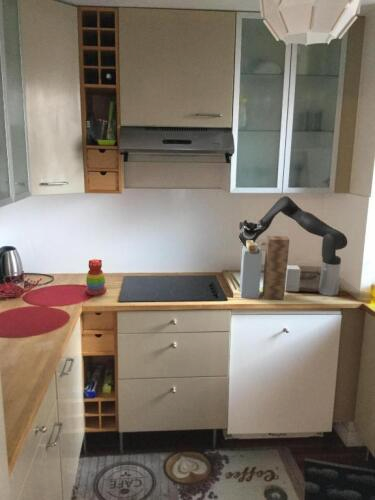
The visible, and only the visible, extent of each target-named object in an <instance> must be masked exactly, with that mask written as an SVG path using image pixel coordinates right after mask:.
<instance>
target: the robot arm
mask: <svg viewBox="0 0 375 500" xmlns="http://www.w3.org/2000/svg"><path fill="white" fill-rule="evenodd" d="M279 213H281V214H283V215H285V216H286V217H288V218H290V219H292V220H294V221H295V222H296V224H297V225H299V226H300V227H301V228H302V229H303V230H305V231H306V232H308V233H310V234H312V235H315V236H318V237H322V241H321V242H322V243H321V257H322V259H321V260H322V261H321V269H320V275H319V276H320V277H319V287H318V293H319V294H320V295H324V296H329V297H331V296H332V297H333V296H337V295H339V289H340V288H339V287H340V280H341V278H340V272H341V271H340V269H341V265H342V264H341V262H342V261H341V260H342V258H341V257H340V256H338V255H336V253H337V251H338V250H342V249H344V248H346V247H347V246H348V238H347V236H346V234H344V233H343V232H342V231H339V230H338V229H335V228H333V227H332V226H330V225H329V224H327V223H326V222H324V221H323V220H321V219H320V218H318V217H317V216H315V215H314V214H312V213H311V212H308V211H304V210H303V209H302V208H300V206H298V204H297V203H295V201H293V199H291V197H289V196H287V195H284V196H282V197H280V198H279V199H278V200H277V201H276V202H275V203H274V204H273V205H272V207H270V209H268V211H267V212H266V214H265V215H264V216H263V217H262V218H261V219H259V220H258V221H257V222H251V221H250V222H248V220H247V219H244V220H243V222H242V221H241V222H239V224H238V225H239V230H243V231H241V232H242V233H241V232H240V233H239V234H240V235H239V234H238V235H239V238H240V240H241V241H240V240H239V241H240V242H241V244H242V243H243V244H242V246H245V247H246V241H247V240H253V242H254V243H256V241H257V239H258V238H259V237H260V236H261V235H262V234H263V233H265V232H266V231H267V230H268V229H269V228H270V226H271V225H272V223H273V221H274V219H275V217H276V216H277V215H278V214H279ZM239 238H238V239H239ZM246 249H247V247H246Z"/></svg>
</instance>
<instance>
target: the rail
mask: <svg viewBox="0 0 375 500" xmlns="http://www.w3.org/2000/svg"><path fill="white" fill-rule="evenodd" d="M246 247H247V248H246V249H247V252H248V254H257V247H258V243H257V242H253V240H247V241H246Z"/></svg>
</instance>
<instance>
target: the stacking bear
mask: <svg viewBox="0 0 375 500" xmlns="http://www.w3.org/2000/svg"><path fill="white" fill-rule="evenodd" d="M102 261H103V260H101V259H98V258H95V259H89V261H88V269H89V270H88V271H87V274H86V278H85V279H86V281H85V282H86V287H85V289H84V290H85V292H86V294H87V295H89V296H99V295H103V294H105V293H106V292H107V287H106V286H105V284H106V278H105V274H104V271H103V270H102V267H103V265H102V263H103V262H102Z"/></svg>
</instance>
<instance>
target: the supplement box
mask: <svg viewBox="0 0 375 500" xmlns="http://www.w3.org/2000/svg"><path fill="white" fill-rule="evenodd" d="M301 272H302V270H301V267H300V266H299V265H297V264H296V265H293V264H287V272H286V282H285V292H299V291H300V282H301V281H300V280H301V274H302V273H301Z"/></svg>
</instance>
